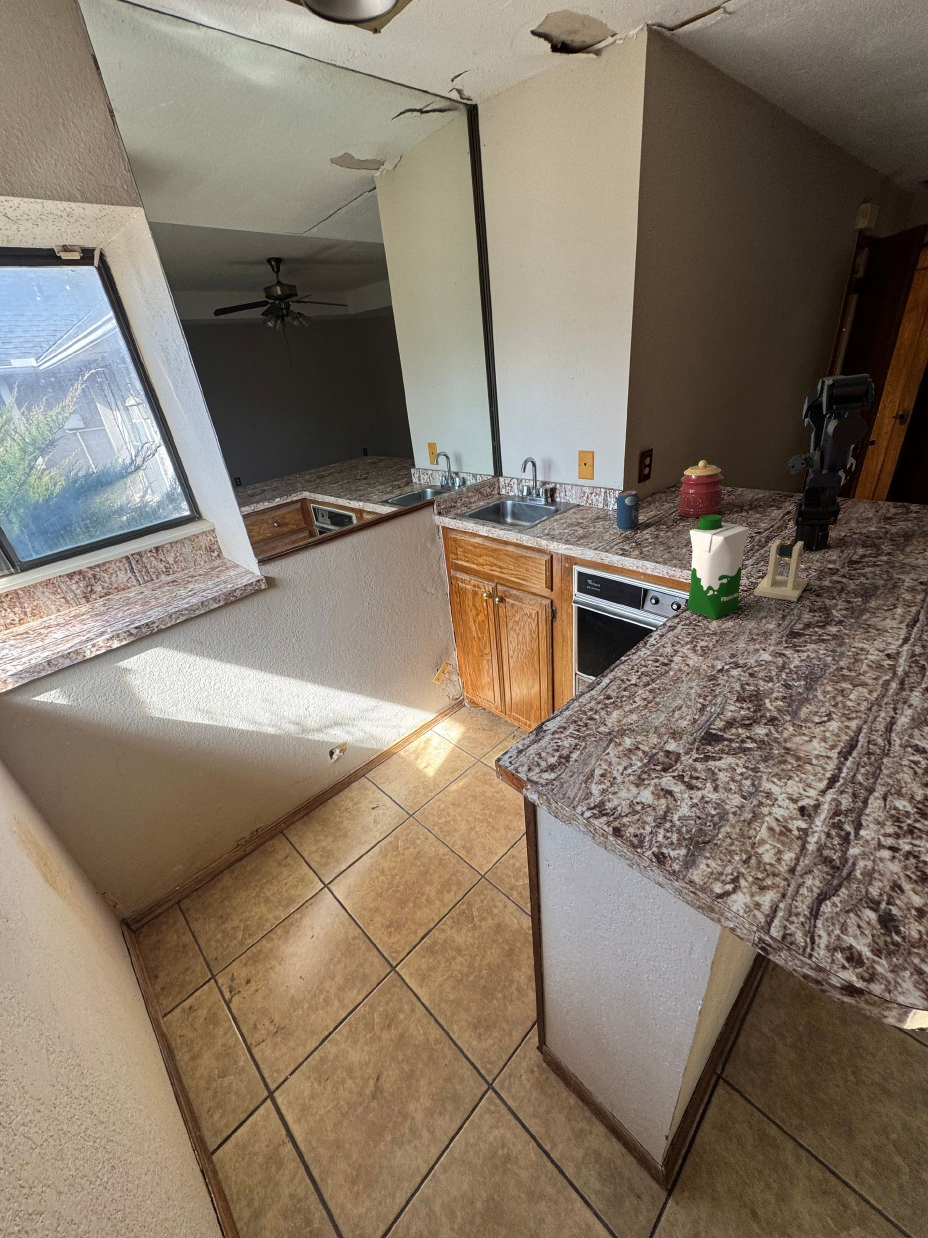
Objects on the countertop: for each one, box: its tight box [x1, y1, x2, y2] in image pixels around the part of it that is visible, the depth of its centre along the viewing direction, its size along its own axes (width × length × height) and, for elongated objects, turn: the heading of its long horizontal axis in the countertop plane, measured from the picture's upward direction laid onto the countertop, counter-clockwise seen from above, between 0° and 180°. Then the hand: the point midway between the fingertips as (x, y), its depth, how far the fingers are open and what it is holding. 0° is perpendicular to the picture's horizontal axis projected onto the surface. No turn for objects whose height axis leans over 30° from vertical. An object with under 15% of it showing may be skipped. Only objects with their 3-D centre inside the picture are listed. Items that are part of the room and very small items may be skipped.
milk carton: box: [686, 514, 750, 620], centre depth 99 cm, size 9×9×20 cm
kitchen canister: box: [678, 459, 725, 518], centre depth 162 cm, size 13×13×18 cm
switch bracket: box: [753, 539, 808, 602], centre depth 104 cm, size 10×8×11 cm
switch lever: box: [778, 544, 803, 566], centre depth 106 cm, size 12×4×4 cm, turn 136°
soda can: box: [616, 490, 640, 532], centre depth 159 cm, size 7×7×12 cm
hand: (824, 509), depth 111 cm, fingers closed
